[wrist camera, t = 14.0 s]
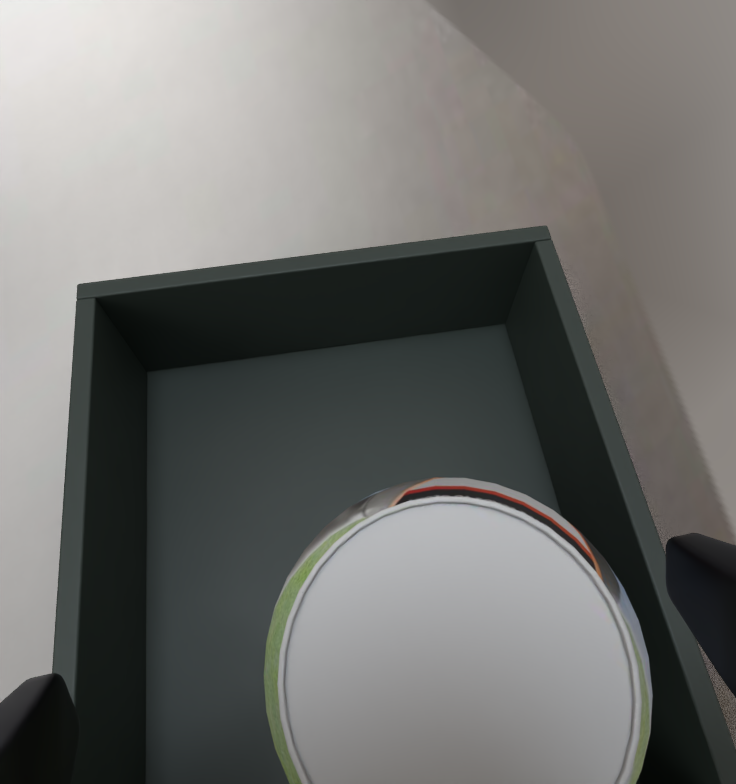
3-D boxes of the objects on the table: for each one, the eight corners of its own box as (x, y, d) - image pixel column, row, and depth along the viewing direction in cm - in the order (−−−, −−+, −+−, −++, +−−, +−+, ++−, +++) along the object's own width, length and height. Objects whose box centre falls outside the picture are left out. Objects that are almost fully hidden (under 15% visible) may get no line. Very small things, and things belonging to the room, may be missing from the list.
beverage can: (564, 600, 20) (791, 487, 9) (472, 847, 17) (643, 1105, 6) (390, 510, 21) (408, 320, 10) (277, 725, 18) (143, 768, 8)
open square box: (663, 815, 18) (777, 862, 13) (130, 916, 17) (28, 1008, 12) (512, 317, 25) (547, 224, 20) (137, 368, 24) (76, 283, 19)
